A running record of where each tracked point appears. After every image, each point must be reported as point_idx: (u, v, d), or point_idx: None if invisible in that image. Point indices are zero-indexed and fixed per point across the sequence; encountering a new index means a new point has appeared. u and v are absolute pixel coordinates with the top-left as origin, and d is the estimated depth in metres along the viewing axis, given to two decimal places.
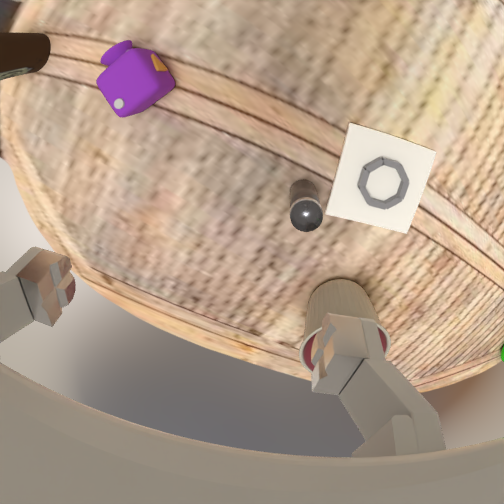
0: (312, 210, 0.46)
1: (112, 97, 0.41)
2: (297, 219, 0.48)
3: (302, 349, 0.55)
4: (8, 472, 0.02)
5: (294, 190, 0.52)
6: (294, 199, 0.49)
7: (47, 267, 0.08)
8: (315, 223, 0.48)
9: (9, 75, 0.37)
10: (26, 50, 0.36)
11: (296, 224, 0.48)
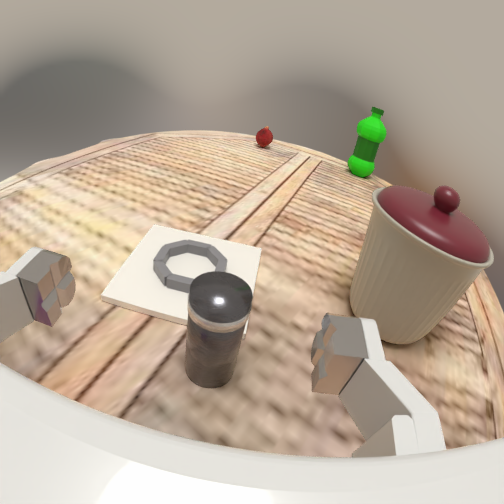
0: (206, 282, 0.25)
1: None
2: (226, 304, 0.23)
3: (469, 262, 0.26)
4: (8, 472, 0.02)
5: (193, 359, 0.26)
6: (196, 332, 0.24)
7: (47, 267, 0.08)
8: (233, 280, 0.26)
9: None
10: None
11: (237, 306, 0.23)
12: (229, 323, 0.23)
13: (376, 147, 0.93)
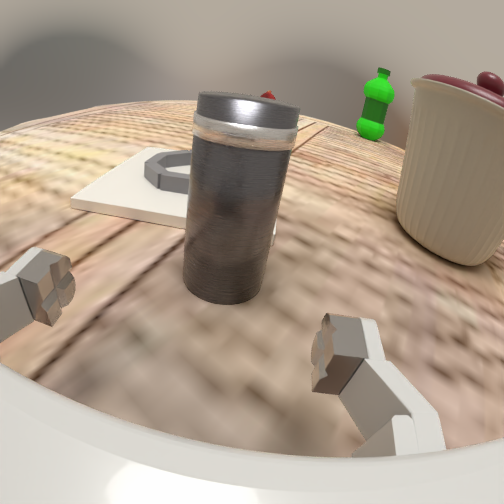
0: (225, 93, 0.14)
1: None
2: (261, 102, 0.13)
3: None
4: (8, 472, 0.02)
5: (197, 237, 0.16)
6: (206, 164, 0.14)
7: (47, 267, 0.08)
8: (265, 98, 0.15)
9: None
10: None
11: (280, 105, 0.13)
12: (268, 128, 0.12)
13: (385, 108, 0.83)
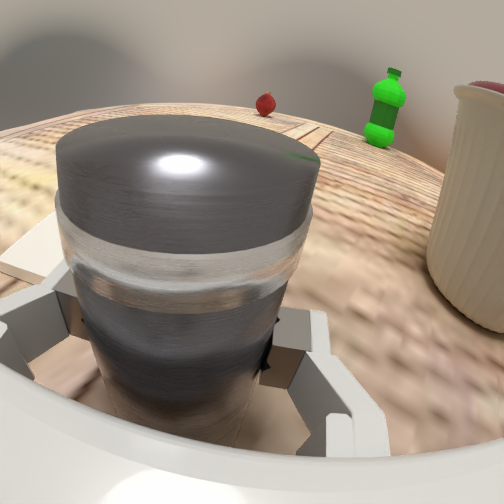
0: (138, 123, 0.06)
1: None
2: (204, 157, 0.04)
3: None
4: (8, 472, 0.02)
5: (118, 407, 0.08)
6: (89, 318, 0.05)
7: None
8: (237, 127, 0.07)
9: None
10: None
11: (264, 166, 0.04)
12: (220, 255, 0.04)
13: (396, 112, 0.75)
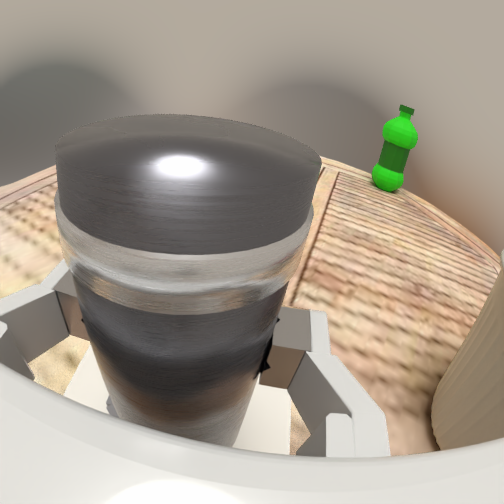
0: (138, 123, 0.06)
1: None
2: (205, 157, 0.04)
3: None
4: (8, 472, 0.02)
5: (118, 407, 0.08)
6: (89, 319, 0.05)
7: None
8: (237, 126, 0.07)
9: None
10: None
11: (265, 166, 0.04)
12: (221, 256, 0.04)
13: (406, 154, 0.73)
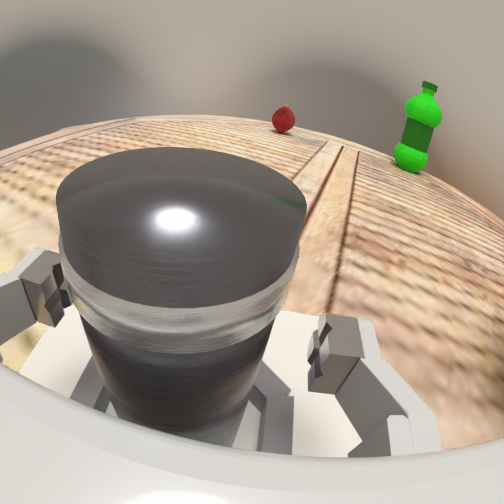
0: (134, 163, 0.06)
1: None
2: (195, 214, 0.05)
3: None
4: (8, 472, 0.02)
5: None
6: (95, 348, 0.06)
7: (50, 268, 0.08)
8: (229, 163, 0.07)
9: None
10: None
11: (250, 224, 0.05)
12: (210, 309, 0.05)
13: (430, 133, 0.64)
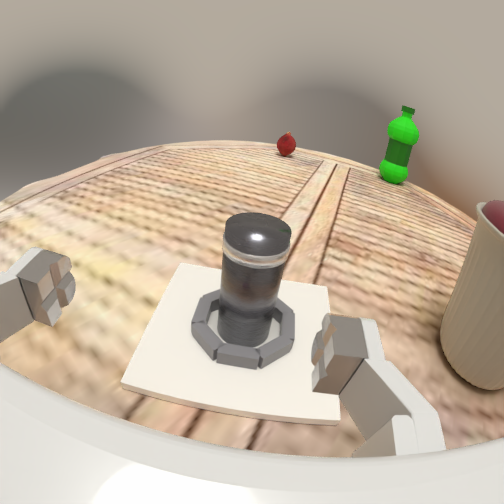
0: (242, 220, 0.24)
1: None
2: (266, 236, 0.22)
3: None
4: (8, 472, 0.02)
5: (228, 311, 0.25)
6: (233, 274, 0.23)
7: (47, 267, 0.08)
8: (269, 219, 0.25)
9: None
10: None
11: (278, 238, 0.22)
12: (270, 256, 0.22)
13: (409, 150, 0.81)
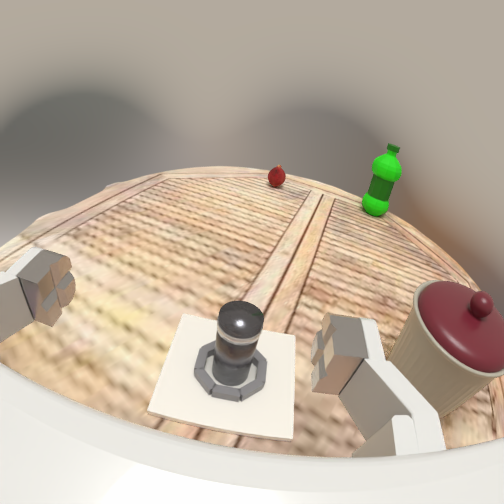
0: (230, 310, 0.34)
1: None
2: (246, 325, 0.33)
3: (496, 373, 0.24)
4: (8, 472, 0.02)
5: (220, 365, 0.36)
6: (224, 345, 0.34)
7: (47, 267, 0.08)
8: (249, 307, 0.35)
9: None
10: None
11: (254, 326, 0.33)
12: (248, 338, 0.32)
13: (391, 186, 0.92)
